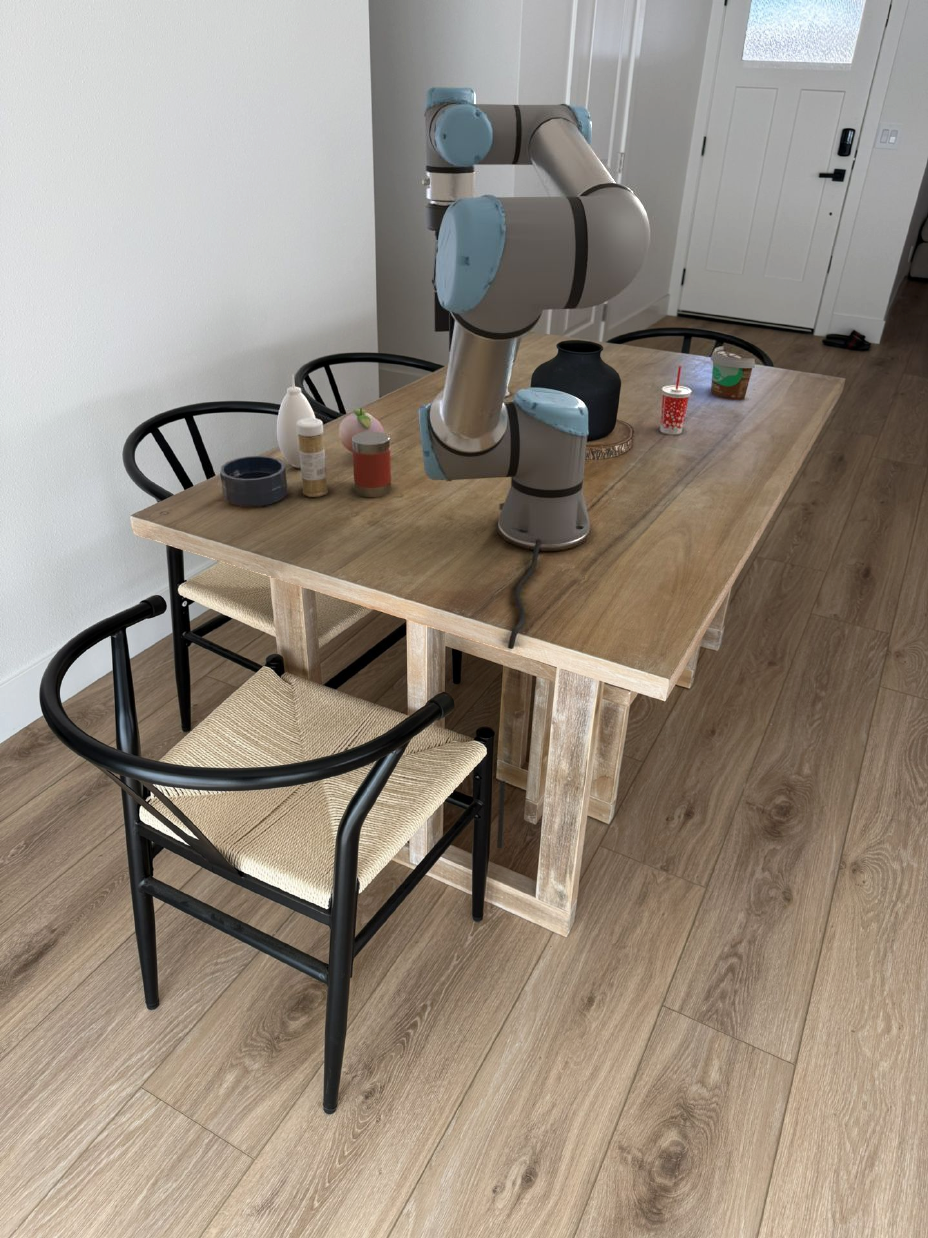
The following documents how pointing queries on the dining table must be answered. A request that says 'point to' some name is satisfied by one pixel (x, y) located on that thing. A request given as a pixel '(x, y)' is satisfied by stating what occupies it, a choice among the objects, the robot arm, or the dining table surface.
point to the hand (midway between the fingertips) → (449, 340)
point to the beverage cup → (674, 407)
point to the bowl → (254, 481)
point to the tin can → (371, 464)
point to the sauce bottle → (292, 423)
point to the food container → (730, 374)
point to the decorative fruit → (357, 426)
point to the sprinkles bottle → (312, 457)
